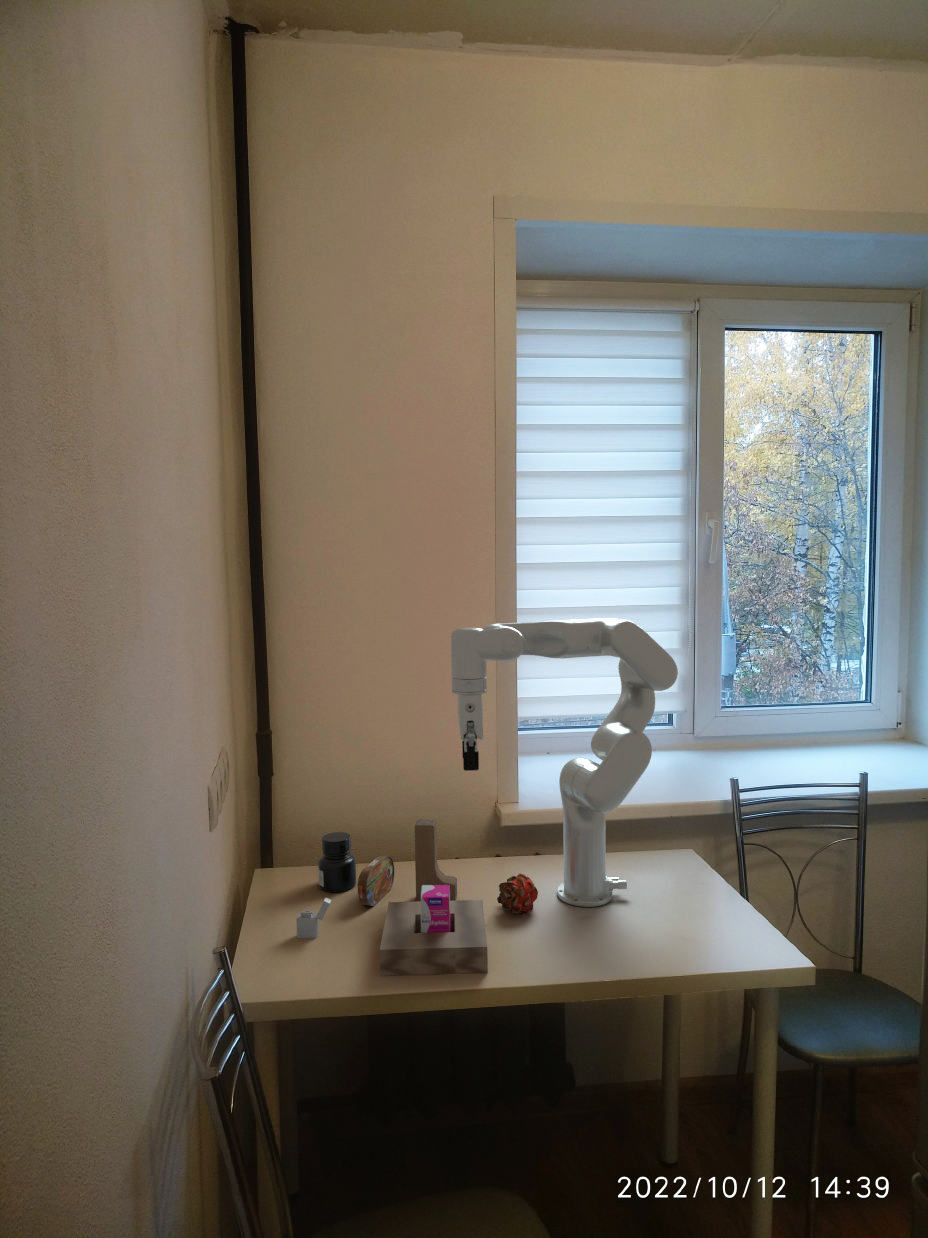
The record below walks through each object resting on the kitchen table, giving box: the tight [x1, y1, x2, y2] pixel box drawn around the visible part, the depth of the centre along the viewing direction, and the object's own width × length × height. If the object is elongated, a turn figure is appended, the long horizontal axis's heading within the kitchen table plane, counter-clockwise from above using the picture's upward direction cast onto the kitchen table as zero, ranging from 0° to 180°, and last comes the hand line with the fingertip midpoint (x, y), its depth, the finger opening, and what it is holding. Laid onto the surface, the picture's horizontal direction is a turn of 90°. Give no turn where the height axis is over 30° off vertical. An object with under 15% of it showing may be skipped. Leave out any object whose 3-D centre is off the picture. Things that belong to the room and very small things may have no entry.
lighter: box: [295, 897, 332, 939], centre depth 154 cm, size 7×2×8 cm, turn 86°
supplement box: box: [421, 885, 450, 933], centre depth 148 cm, size 6×6×12 cm
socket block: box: [379, 899, 489, 977], centre depth 148 cm, size 20×20×5 cm
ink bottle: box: [317, 831, 357, 893], centre depth 178 cm, size 10×9×12 cm
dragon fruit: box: [496, 873, 539, 915], centre depth 164 cm, size 8×8×12 cm
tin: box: [356, 855, 395, 907], centre depth 172 cm, size 15×3×8 cm, turn 161°
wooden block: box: [414, 819, 458, 902], centre depth 170 cm, size 9×4×18 cm, turn 85°
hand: (470, 764), depth 160 cm, fingers open, 9 cm apart
